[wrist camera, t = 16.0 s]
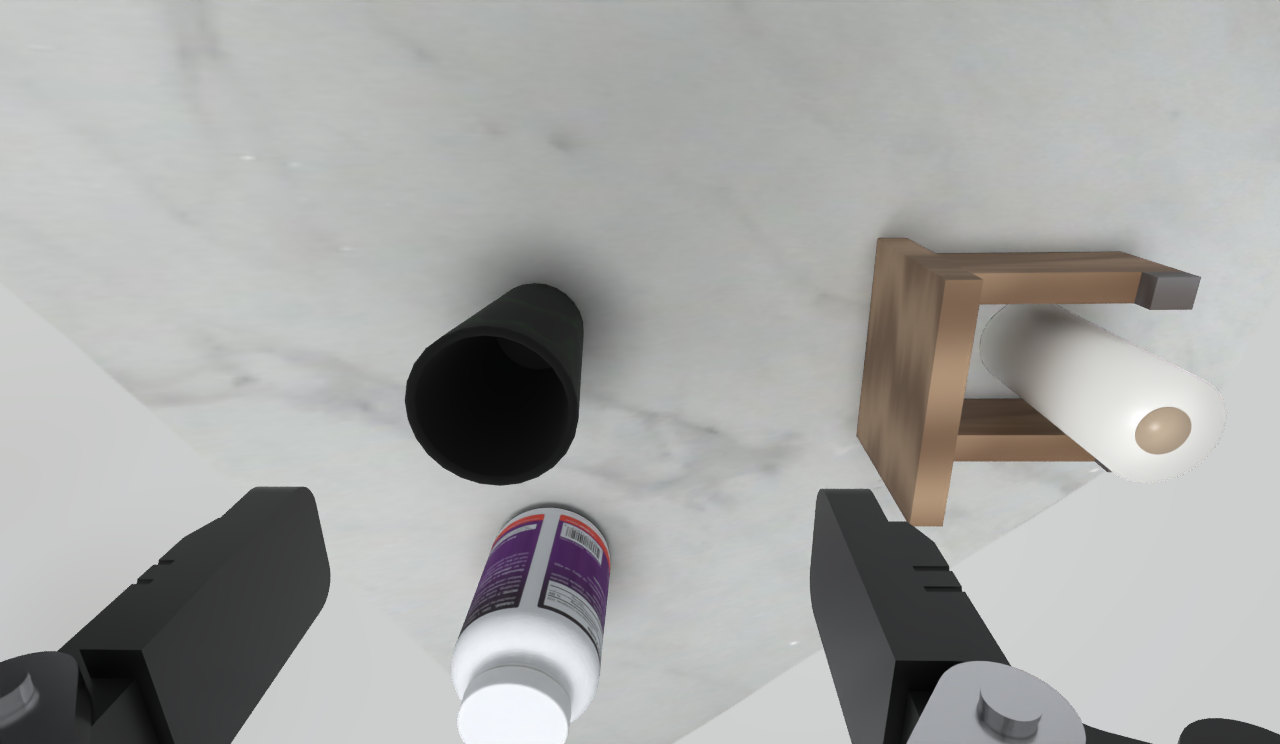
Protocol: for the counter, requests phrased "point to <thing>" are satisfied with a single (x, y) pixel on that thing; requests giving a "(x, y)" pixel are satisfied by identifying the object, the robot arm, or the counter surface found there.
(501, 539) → the pill bottle
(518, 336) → the cup
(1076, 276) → the holder
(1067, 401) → the roll
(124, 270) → the counter surface
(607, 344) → the counter surface
